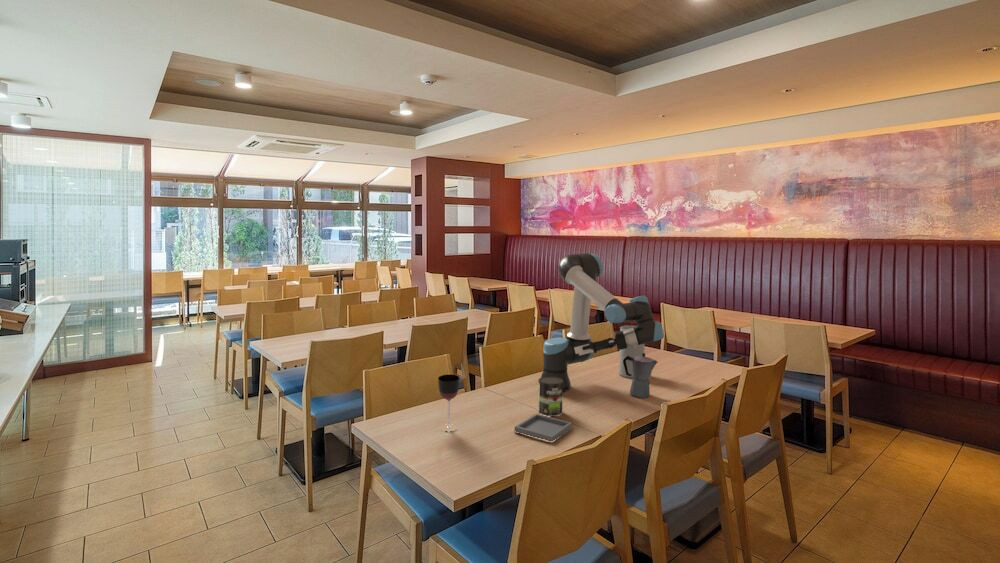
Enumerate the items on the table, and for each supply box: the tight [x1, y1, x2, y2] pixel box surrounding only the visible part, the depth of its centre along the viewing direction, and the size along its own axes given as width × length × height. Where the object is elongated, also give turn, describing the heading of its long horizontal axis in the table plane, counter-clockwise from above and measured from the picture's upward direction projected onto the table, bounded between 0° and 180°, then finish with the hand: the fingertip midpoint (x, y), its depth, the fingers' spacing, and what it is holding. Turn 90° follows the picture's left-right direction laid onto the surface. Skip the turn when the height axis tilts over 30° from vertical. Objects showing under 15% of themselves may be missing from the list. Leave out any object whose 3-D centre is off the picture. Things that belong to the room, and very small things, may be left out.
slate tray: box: [514, 413, 573, 441], centre depth 193 cm, size 16×16×2 cm
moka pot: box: [623, 352, 659, 399], centre depth 233 cm, size 10×15×20 cm, turn 78°
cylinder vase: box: [618, 325, 646, 379], centre depth 264 cm, size 12×12×25 cm
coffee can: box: [537, 377, 564, 417], centre depth 211 cm, size 10×10×14 cm
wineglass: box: [437, 374, 460, 428], centre depth 194 cm, size 8×9×20 cm
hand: (576, 351), depth 217 cm, fingers open, 13 cm apart
